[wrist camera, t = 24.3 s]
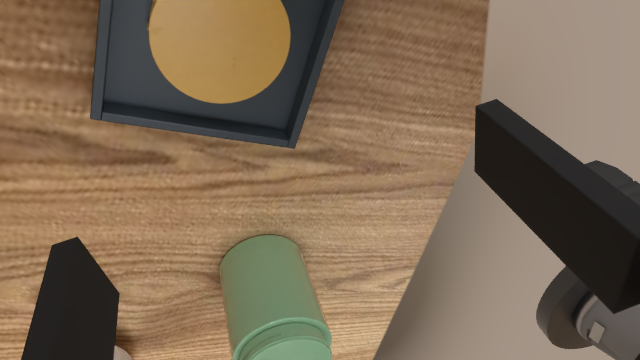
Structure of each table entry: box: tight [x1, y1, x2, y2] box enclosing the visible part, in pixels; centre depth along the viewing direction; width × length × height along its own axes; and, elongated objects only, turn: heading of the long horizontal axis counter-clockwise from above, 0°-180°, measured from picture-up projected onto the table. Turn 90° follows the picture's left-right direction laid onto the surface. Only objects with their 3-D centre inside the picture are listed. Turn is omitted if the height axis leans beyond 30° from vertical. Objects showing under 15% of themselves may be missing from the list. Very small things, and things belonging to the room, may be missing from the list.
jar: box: [219, 235, 332, 360], centre depth 38 cm, size 8×8×10 cm
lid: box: [147, 0, 290, 104], centre depth 28 cm, size 8×8×2 cm
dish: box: [90, 0, 344, 149], centre depth 28 cm, size 13×13×2 cm
